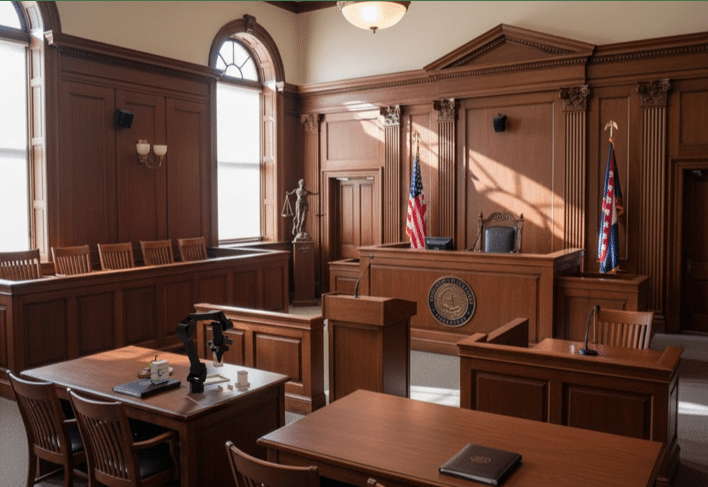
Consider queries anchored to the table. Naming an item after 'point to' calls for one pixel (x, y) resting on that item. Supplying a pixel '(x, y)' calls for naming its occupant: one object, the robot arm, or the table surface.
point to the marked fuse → (217, 361)
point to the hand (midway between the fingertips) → (217, 361)
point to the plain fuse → (242, 378)
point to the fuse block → (232, 387)
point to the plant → (147, 371)
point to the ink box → (159, 370)
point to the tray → (215, 377)
